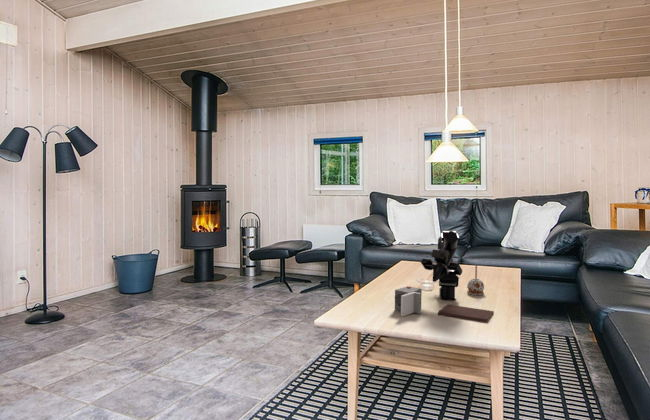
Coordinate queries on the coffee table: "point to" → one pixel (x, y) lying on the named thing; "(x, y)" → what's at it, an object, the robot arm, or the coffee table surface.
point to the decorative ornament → (475, 285)
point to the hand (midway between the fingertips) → (433, 281)
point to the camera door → (410, 303)
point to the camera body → (402, 292)
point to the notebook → (466, 313)
